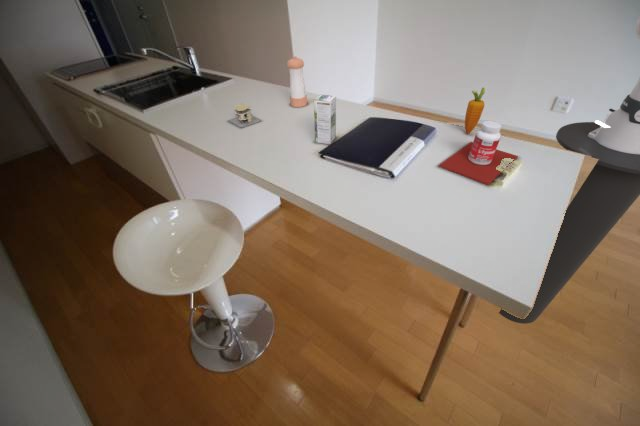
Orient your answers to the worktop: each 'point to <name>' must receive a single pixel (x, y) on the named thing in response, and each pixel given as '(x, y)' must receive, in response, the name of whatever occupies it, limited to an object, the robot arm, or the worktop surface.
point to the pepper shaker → (297, 82)
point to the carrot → (474, 111)
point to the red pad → (475, 165)
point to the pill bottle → (485, 143)
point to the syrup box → (325, 118)
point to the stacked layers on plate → (243, 116)
